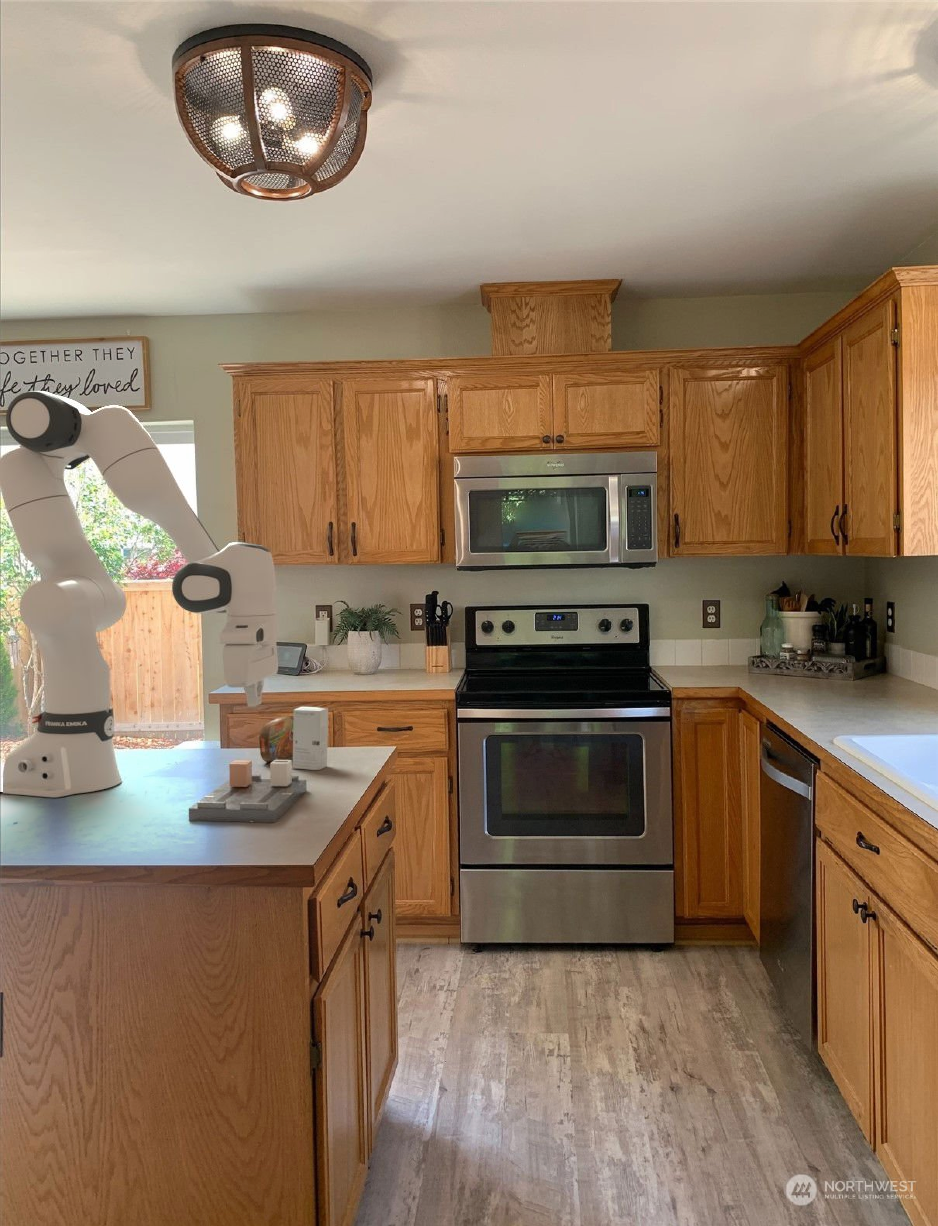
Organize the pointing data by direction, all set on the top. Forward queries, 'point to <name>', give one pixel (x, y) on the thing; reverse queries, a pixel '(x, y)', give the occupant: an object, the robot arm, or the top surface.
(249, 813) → the panel
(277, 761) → the fader
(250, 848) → the top surface
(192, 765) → the top surface
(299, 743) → the skincare box
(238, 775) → the fader
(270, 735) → the tin
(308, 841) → the top surface
